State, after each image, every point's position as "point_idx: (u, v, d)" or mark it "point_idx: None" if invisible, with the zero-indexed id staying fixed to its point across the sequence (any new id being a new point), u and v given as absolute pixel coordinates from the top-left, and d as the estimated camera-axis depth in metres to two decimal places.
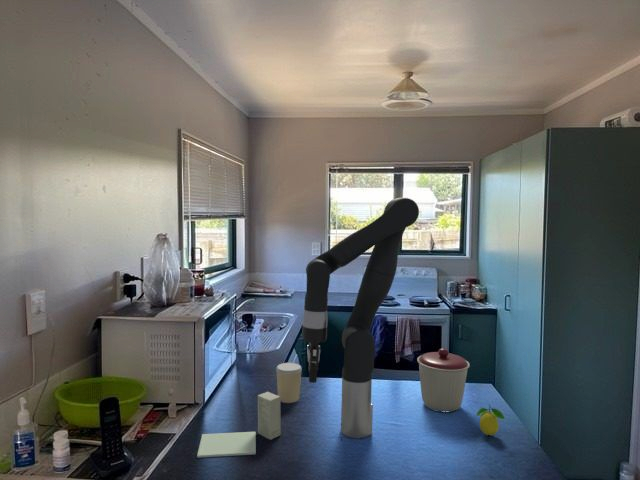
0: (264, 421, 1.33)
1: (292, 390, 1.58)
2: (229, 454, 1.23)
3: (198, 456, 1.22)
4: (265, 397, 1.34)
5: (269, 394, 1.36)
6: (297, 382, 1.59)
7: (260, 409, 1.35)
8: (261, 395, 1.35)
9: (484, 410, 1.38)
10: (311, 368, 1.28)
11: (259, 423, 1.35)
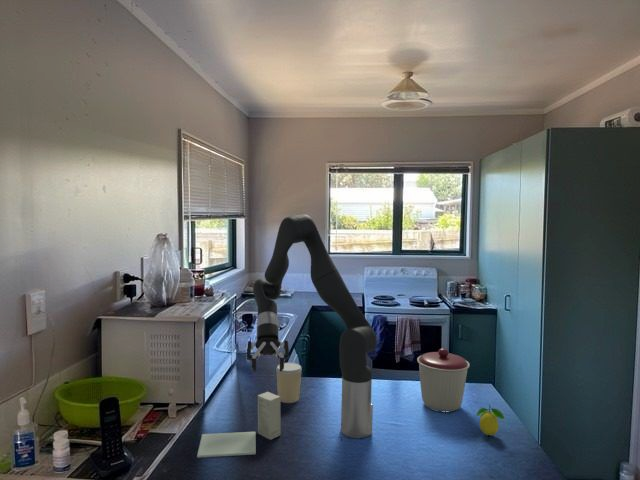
0: (264, 421, 1.33)
1: (292, 390, 1.58)
2: (229, 454, 1.23)
3: (198, 456, 1.22)
4: (265, 397, 1.34)
5: (269, 394, 1.36)
6: (297, 382, 1.59)
7: (260, 409, 1.35)
8: (261, 395, 1.35)
9: (484, 410, 1.38)
10: None
11: (259, 423, 1.35)
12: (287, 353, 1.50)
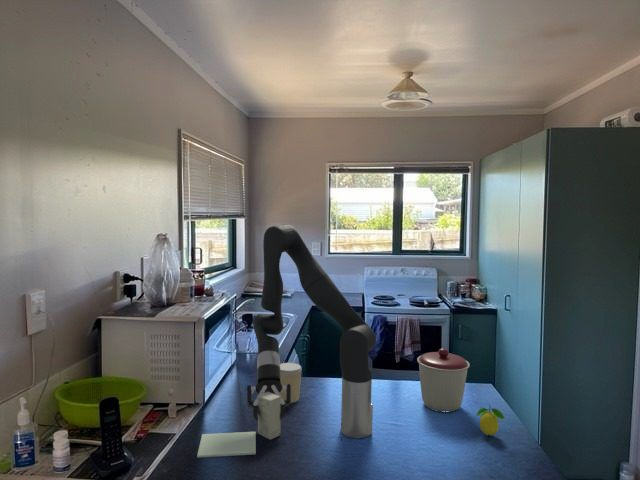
0: (264, 420, 1.33)
1: (292, 390, 1.58)
2: (229, 454, 1.23)
3: (198, 456, 1.22)
4: (265, 397, 1.34)
5: (269, 394, 1.36)
6: (297, 382, 1.59)
7: (260, 409, 1.35)
8: (261, 395, 1.35)
9: (484, 410, 1.38)
10: None
11: (259, 423, 1.35)
12: (288, 399, 1.37)
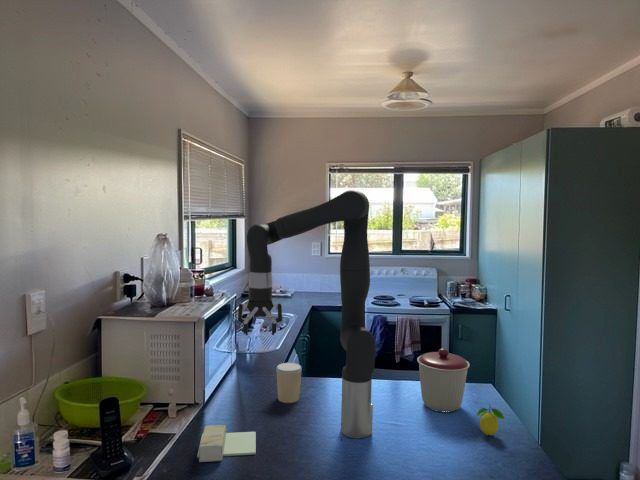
0: None
1: (292, 390, 1.58)
2: (229, 454, 1.23)
3: (198, 456, 1.22)
4: (211, 460, 1.19)
5: (207, 450, 1.19)
6: (297, 382, 1.59)
7: None
8: (203, 459, 1.19)
9: (484, 410, 1.38)
10: None
11: None
12: (280, 318, 1.44)
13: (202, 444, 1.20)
